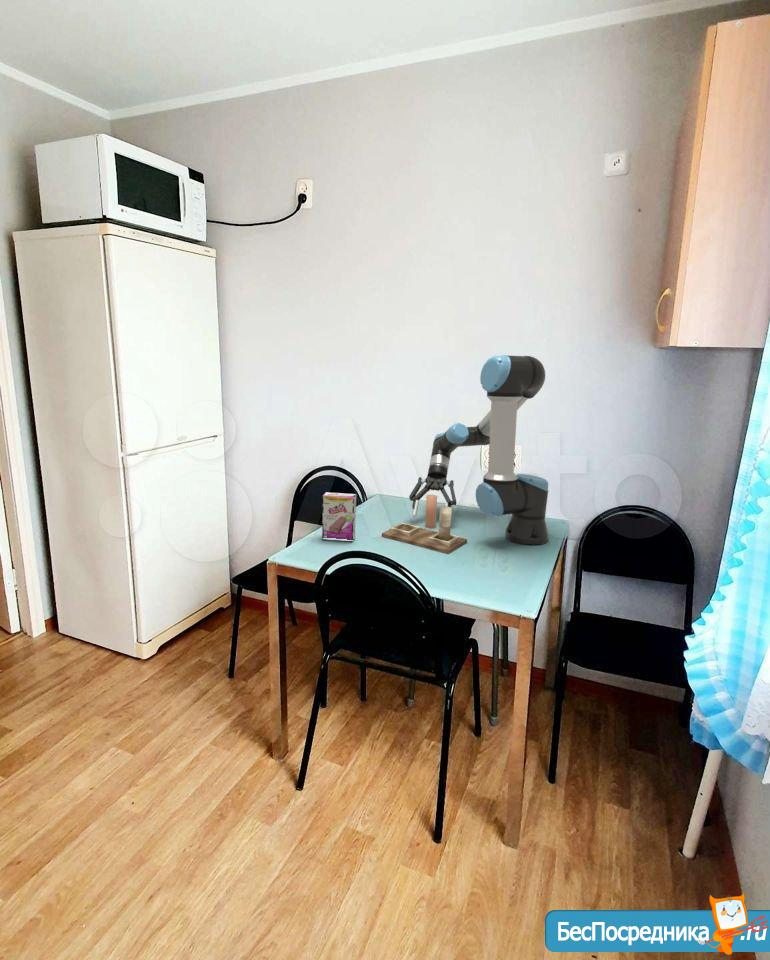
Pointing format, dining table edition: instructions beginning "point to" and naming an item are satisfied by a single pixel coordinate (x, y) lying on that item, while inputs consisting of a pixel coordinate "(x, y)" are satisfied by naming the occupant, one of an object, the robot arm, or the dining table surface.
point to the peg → (431, 511)
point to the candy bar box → (339, 515)
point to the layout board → (428, 534)
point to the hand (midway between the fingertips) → (429, 518)
